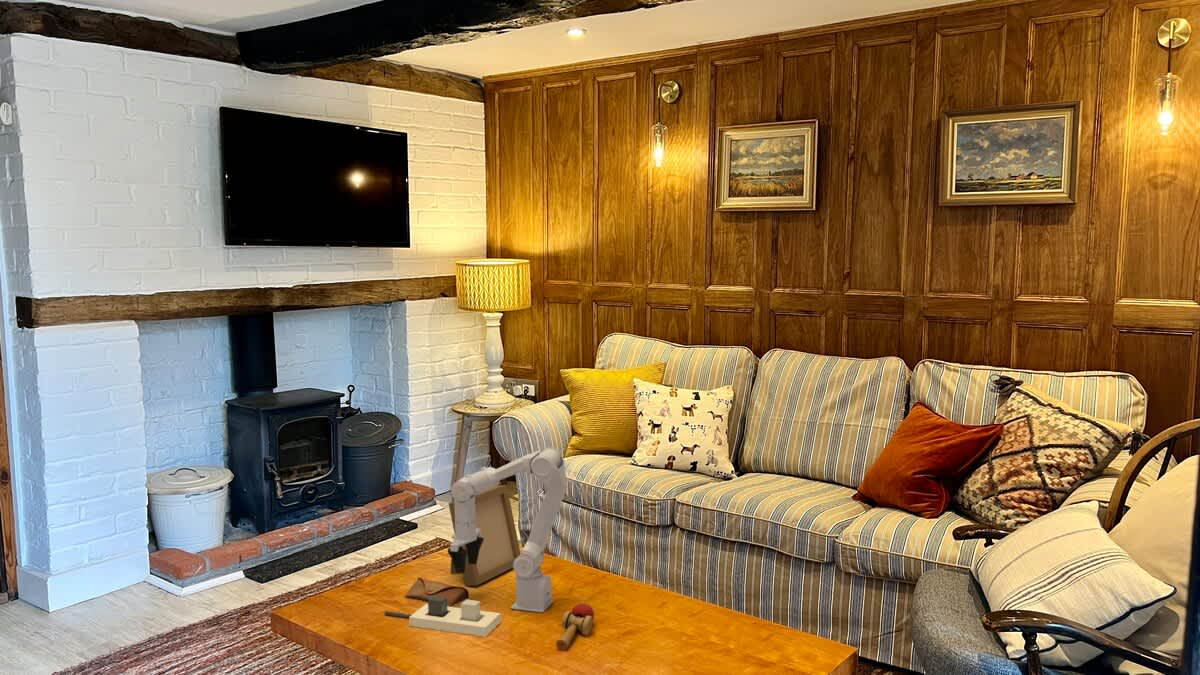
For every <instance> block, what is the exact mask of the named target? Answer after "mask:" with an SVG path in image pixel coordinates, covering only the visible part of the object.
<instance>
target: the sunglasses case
mask: <svg viewBox="0 0 1200 675" xmlns="http://www.w3.org/2000/svg"><path fill="white" fill-rule="evenodd" d="M433 595H435V596H443V597H447V606H448V607H452V606H453V607H455V606H456V605H455V604H457V603H458V604H460V603H462V602H464V601H465V600H466V598H468V599H469V595H470V594H469V591H468V589H466V588H465V587H463V586H459V585H452V584H448V583H443V582H440V581H439V582H438V581H433V580H429V579H425V578H422V577H417V580H416V581H415V582H414V584H413V585H411V587H410V589H409V590H408V591H407V592H406V593H405V595H404V597H406V598H405V599H410V598H411V600H415V599H417V600H416V601H420V600H422V601H421V602H424V601H425V603H428V599H429V598H431V597H432V596H433ZM464 599H465V600H464ZM463 600H464V601H463ZM461 601H462V602H461ZM459 602H460V603H459ZM458 604H457V605H458ZM454 605H455V606H454Z"/></svg>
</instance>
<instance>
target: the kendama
mask: <svg viewBox="0 0 1200 675" xmlns="http://www.w3.org/2000/svg"><path fill="white" fill-rule="evenodd" d="M594 617H595V612H594V609H593V608H592V606H590V605H589V603H585V602H581V603H578V604H575V606H573V608H572V609H571V611H570V610H567V611H566V612H565V613H564V615H563V616H562V620H561V621H562V622H561V626H562V628H563V629H565V631H564V632H563V634H562V635H561V636H560V637H559V638H558V639H557V641H556V648H557V649H558V650H559V651H566V650H567V649H568V647H569V645H570V642H571V641H572V639H573V638H574V636H575V634H576V631H577V630H579V631H580V633H581V635H585V636H588V635H589V634H590V632H591V629H592V628H593V627H592V626H593V620H594ZM588 633H589V634H588Z"/></svg>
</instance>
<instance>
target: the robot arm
mask: <svg viewBox="0 0 1200 675" xmlns="http://www.w3.org/2000/svg"><path fill="white" fill-rule="evenodd" d="M565 463H566V462H565V459H564V457H563V455H562V454H561V452H560V451H559V450H557V449H556V448H553V447H546V448H545V449H543V450H542V451H541V450H537V451H534V452H531V453H528V454H526V455H523V456H522V457H519V458H517V459H515V460H513V461H510V462H507V464H504V465H503V466H500V467H498V468H494V467H492V466H488V467H486V466H483V467H481V468H480V469H479V471H476V472H475V473H472V474H471V473H468V474H466V475H465V476H464V477H461V478H460V479H458V480H457V481H455V482H454V483H453V484H452V486H451V489H450V494H451V496H452V498H453V501H454V502H455V506H454V507H455V533H454V534H452V535H451V539H452V543H450V547H449V548H447V553H448V555H449V556H450V558H451V559H452V560H453V563H454V566H455V570H456V574H461V575H463V574H464V572H465V562H466V557H467V554H468V561H469V564H476V563H477V560H478V555H479V550H480V547H481V545H482V543H483V541H484V538H483V537H479V536H480V535H481V530H480V529H478V528H476V514H475V495H478V494H480V493H482V492H485V491H487V490H490V489H492V488H494V487H497V486H499V484H500V481H501V480H505V479H506V478H509V477H512V476H514V475H517V474H519V473H522V472H524V473H527V474H528V475H532V474H533V475H534V476H535V477H536V478H537V479H539V480H540V482H541V483H543V485H544V488H545V489H546V492H545V495H544V498H543V499H542V503H541V504H540V507H539V510H538V512H537V515H536V518H535V521H534V523H533V526H532V528H531V530H530V532H529V536H528V538H527V540H526V543H525V544H524V546H523V548H522V549H521V551H520V553H521V554H520V556H519V557H517V558H516V559H515V561H514V563H513V568H512V569H513V571H514V574H515V589H516V590H515V592H516V593H515V596H516V598H515V599H516V600H515V603H514V604H512V605H511V607H510V609H511V610H512V609H513V610H518V611H527V612H532V613H533V612H534V613H540V614H541V613H544V612H545V611H546V610H547V609H548V608H549V607H550V606H551V605H552V604H553V602H554V600H553V591H552V589H553V588H552V587H553V585H552V584H553V583H552V578H551V576H550V575H546V574H544V573H543V571H542V568H541V565H542V564H543V563H544V559H545V555H544V551H545V548H546V542H547V540H548V537H549V535H550V532H551V529H552V527H553V525H554V522H555V520H556V516H557V514H558V511H559V509H560V507H561V504H562V501H563V499H564V497H565V494H566V492H567V489H568V480H567V474H566V470H565ZM463 545H466V549H467V550H463V548H462V546H463Z"/></svg>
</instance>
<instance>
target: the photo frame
mask: <svg viewBox="0 0 1200 675" xmlns="http://www.w3.org/2000/svg"><path fill="white" fill-rule="evenodd" d="M454 506H455V502H454V500H453V501H451V502H448V508H449V513H450V518H451V523H452V526H453V527H452V528H453V533H454V534H455V507H454ZM475 514H476V528H478V529H480V530H481V535H480V536H479V537H483V538H484V541H483V543H482V545H481V547H480V550H479V555H478V560H477V563H476V564H469V561H468V554H467V557H466V562H465V572H464V574H462V577H463V582H464V586H465V587H474V586H475V587H476V586H479V585H481V584H483V583H484V582H487V581H488V580H490V579H493V578H494V577H497V576H499V575H500V574H503V573H504V572H507V571H509V570H511V569H513V563H514V561H515V559H516V558H517V557H519V556H520V554H521V549H520V548H521V547H520V544H519V540H518V539H519V538H518V534H517V529H516V524H515V519H514V514H513V509H512V505H511V500H510V495H509V490H508V486H507V484H503V485H502V484H501V485H498V486H497V487H494V488H492V489H490V490H487V491H485V492H482V493H480V494H478V495H475ZM462 548H463V550H467V549H466V545H463V546H462ZM455 573H456V570H455V566H454V563H453V560H452V558H451V559H450V574H455ZM456 574H457V573H456Z"/></svg>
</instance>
